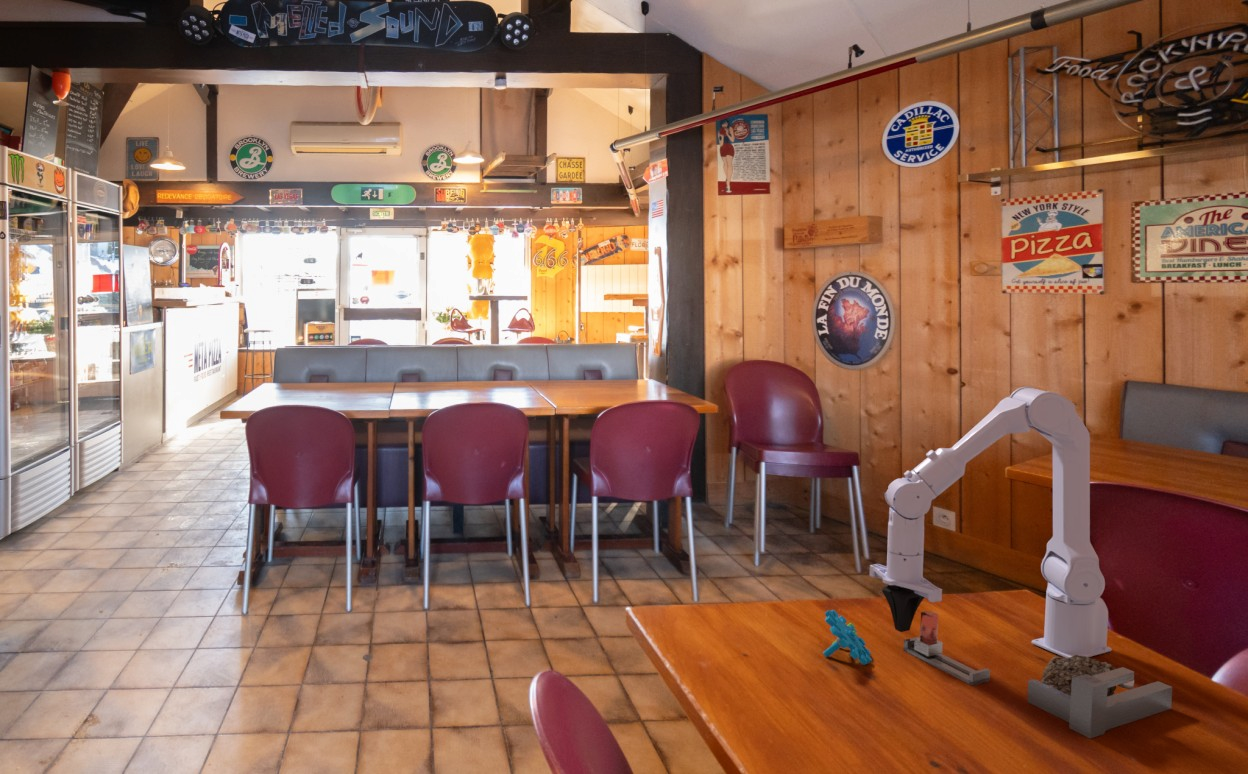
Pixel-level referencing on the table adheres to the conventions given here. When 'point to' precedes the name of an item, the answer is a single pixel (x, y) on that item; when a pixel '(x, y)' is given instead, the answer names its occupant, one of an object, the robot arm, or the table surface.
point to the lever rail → (950, 665)
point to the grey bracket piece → (1101, 701)
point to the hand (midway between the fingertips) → (902, 629)
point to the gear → (846, 638)
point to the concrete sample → (1073, 672)
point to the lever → (928, 635)
